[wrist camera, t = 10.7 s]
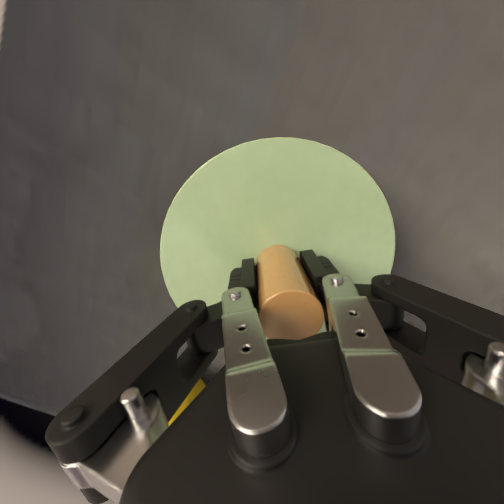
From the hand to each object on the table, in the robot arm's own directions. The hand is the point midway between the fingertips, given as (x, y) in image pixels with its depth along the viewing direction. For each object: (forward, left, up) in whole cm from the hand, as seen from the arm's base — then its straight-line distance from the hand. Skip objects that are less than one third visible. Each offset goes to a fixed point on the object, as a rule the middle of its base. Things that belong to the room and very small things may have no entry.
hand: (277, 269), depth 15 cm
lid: (0, 0, -1) cm, 1 cm away
